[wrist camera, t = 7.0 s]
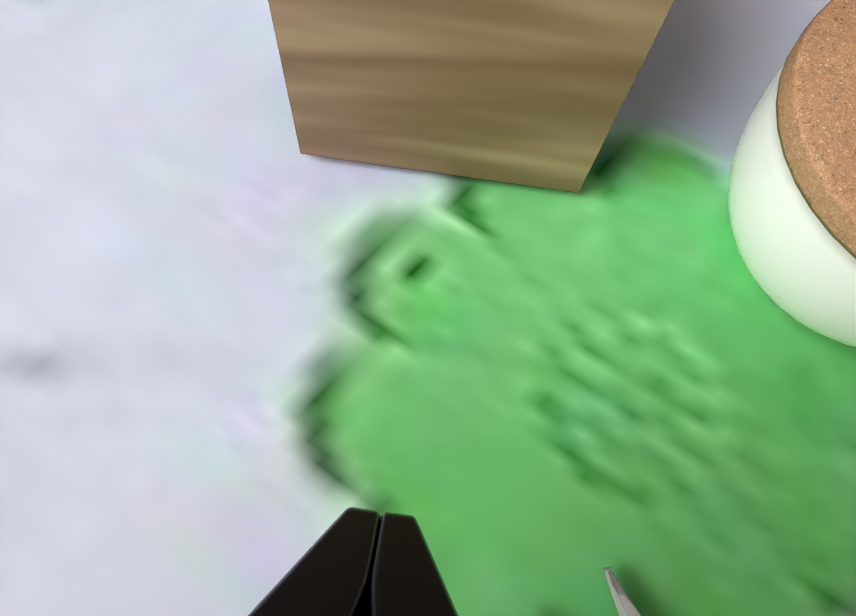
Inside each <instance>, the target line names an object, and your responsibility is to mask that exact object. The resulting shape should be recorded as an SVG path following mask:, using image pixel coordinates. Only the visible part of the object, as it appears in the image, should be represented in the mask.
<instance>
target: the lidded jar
mask: <svg viewBox="0 0 856 616" xmlns="http://www.w3.org/2000/svg"><path fill="white" fill-rule="evenodd" d="M728 207H729V216H730V221H731V226H732V231H733V235H734V239H735V242H736V245H737V247H738V250H739V253H740V255H741V258H742V259H743V261H744V263H745V265H746V267H747V269H748V270H749V272H750V274H751V275H752V277H753V278H754V279H755V281H756V282H757V283H758V285H759V286H760V287H761V289H762V290H763V291H764V292H765V293H766V294H767V295H768V296H769V297H770V299H771V300H772V301H773V302H774V303H775V304H776V305H777V306H778V307H780V308H781V309H782V310H783V311H785V312H786V313H787V314H788V315H790V316H791V317H792V318H794V319H795V320H796V321H798V322H800V323H801V324H803V325H805V326H806V327H808V328H810V329H811V330H813V331H815V332H817V333H819V334H822V335H824V336H826V337H828V338H831V339H833V340H835V341H838V342H840V343H843V344H846V345H849V346H853V347H856V0H831V1H830V2H829V3H828V4H827V5H826V6H825V7H824V8H823V9H822V10H821V11H820V12H819V13H818V14H817V15H816V16H815V17H814V18H813V20H812V21H811V22H810V23H809V25H808V26H807V27H806V28H805V30H804V31H803V33H802V34H801V36H800V37H799V39H798V40H797V42H796V44H795V45H794V47H793V48H792V50H791V52H790V53H789V55H788V57H787V59H786V61H785V63H784V64H783V65H782V67H781V68H780V70H779V71H778V72H777V74H776V75H775V77H774V78H773V80H772V81H771V82H770V84H769V85H768V87H767V88H766V90H765V92H764V93H763V95H762V96H761V98H760V100H759V101H758V103H757V105H756V107H755V108H754V110H753V112H752V114H751V116H750V118H749V120H748V121H747V123H746V126H745V128H744V131H743V134H742V136H741V139H740V142H739V145H738V147H737V150H736V153H735V155H734V158H733V161H732V168H731V174H730V180H729V190H728Z"/></svg>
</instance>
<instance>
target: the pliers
mask: <svg viewBox="0 0 856 616" xmlns="http://www.w3.org/2000/svg"><path fill="white" fill-rule="evenodd" d="M603 570H604V573H605V576H606V579H607V582H608V585H609V588H610V591H611V594H612V597H613V599H614V602H615V605H616V608H617V611H618V614H619V616H641V615H640V613H639V612H638V610H637V609H636V607H635V606H634V604H633V603H632V601H631V599H630V598H629V596H628V595H627V593H626V592H625V590H624V589H623V587H622V586H621V584H620V582H619V581H618V579H617V578H616V576H615V575H614V573H613V572H612V570H611V569H610V567H606V568H603Z"/></svg>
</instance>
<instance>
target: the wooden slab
mask: <svg viewBox="0 0 856 616" xmlns="http://www.w3.org/2000/svg"><path fill="white" fill-rule="evenodd" d="M268 2H269V7H270V11H271V16H272V21H273V25H274V30H275V35H276V40H277V44H278V49H279V54H280V58H281V63H282V68H283V73H284V77H285V82H286V87H287V91H288V96H289V101H290V105H291V110H292V115H293V120H294V124H295V129H296V134H297V138H298V143H299V148H300V153H301V154H306V155H314V156H321V157H328V158H335V159H342V160H349V161H357V162H364V163H371V164H378V165H385V166H392V167H400V168H407V169H414V170H421V171H428V172H435V173H442V174H450V175H457V176H464V177H471V178H478V179H485V180H493V181H500V182H507V183H514V184H521V185H528V186H536V187H543V188H550V189H557V190H564V191H571V192H579V191H580V189H581V187H582V185H583V183H584V181H585V179H586V177H587V175H588V173H589V171H590V169H591V167H592V165H593V163H594V161H595V159H596V157H597V155H598V153H599V151H600V149H601V147H602V145H603V143H604V141H605V139H606V137H607V135H608V133H609V131H610V129H611V127H612V124H613V122H614V120H615V118H616V116H617V114H618V112H619V110H620V108H621V106H622V104H623V102H624V100H625V98H626V96H627V94H628V92H629V90H630V88H631V86H632V84H633V82H634V80H635V78H636V76H637V74H638V72H639V70H640V68H641V66H642V64H643V62H644V60H645V58H646V56H647V54H648V52H649V50H650V48H651V46H652V44H653V42H654V40H655V38H656V36H657V34H658V32H659V30H660V28H661V26H662V24H663V22H664V20H665V18H666V16H667V14H668V12H669V10H670V8H671V6H672V4H673V2H674V0H268Z"/></svg>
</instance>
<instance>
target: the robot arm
mask: <svg viewBox="0 0 856 616" xmlns="http://www.w3.org/2000/svg"><path fill="white" fill-rule="evenodd" d="M248 616H458V614H457V612H456V609H455V607H454V605H453V603H452V600H451V598H450V596H449V593H448V591H447V589H446V586H445V584H444V582H443V580H442V577H441V575H440V573H439V570H438V568H437V566H436V564H435V561H434V559H433V557H432V554H431V552H430V550H429V548H428V545H427V543H426V541H425V538H424V536H423V534H422V531H421V529H420V527H419V525H418V522H417V520H416V519H415V518H414V517H413V516H411V515H405V514H398V513H390V512H385V513H383V514H382V516H381V519H380V513H379V512H378V511H375V510H369V509H361V508H354V507H351V508H348V509H346V510H345V511H344V512H343V513H342V514H341V515H340V517H339V518H338V519H337V520H336V521H335V522H334V523H333V524H332V525H331V526H330V527H329V528H328V530H327V531H326V532H325V533H324V534H323V535H322V536H321V537H320V538H319V539H318V540H317V541H316V543H315V544H314V545H313V546H312V547H311V548H310V549H309V550H308V551H307V552H306V553H305V554H304V556H303V557H302V558H301V559H300V560H299V561H298V562H297V563H296V564H295V565H294V566H293V567H292V569H291V570H290V571H289V572H288V573H287V574H286V575H285V576H284V577H283V578H282V579H281V580H280V581H279V583H278V584H277V585H276V586H275V587H274V588H273V589H272V590H271V591H270V592H269V593H268V594H267V596H266V597H265V598H264V599H263V600H262V601H261V602H260V603H259V604H258V605H257V606H256V607H255V609H254V610H253V611H252V612H251V613H250V614H249V615H248Z"/></svg>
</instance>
